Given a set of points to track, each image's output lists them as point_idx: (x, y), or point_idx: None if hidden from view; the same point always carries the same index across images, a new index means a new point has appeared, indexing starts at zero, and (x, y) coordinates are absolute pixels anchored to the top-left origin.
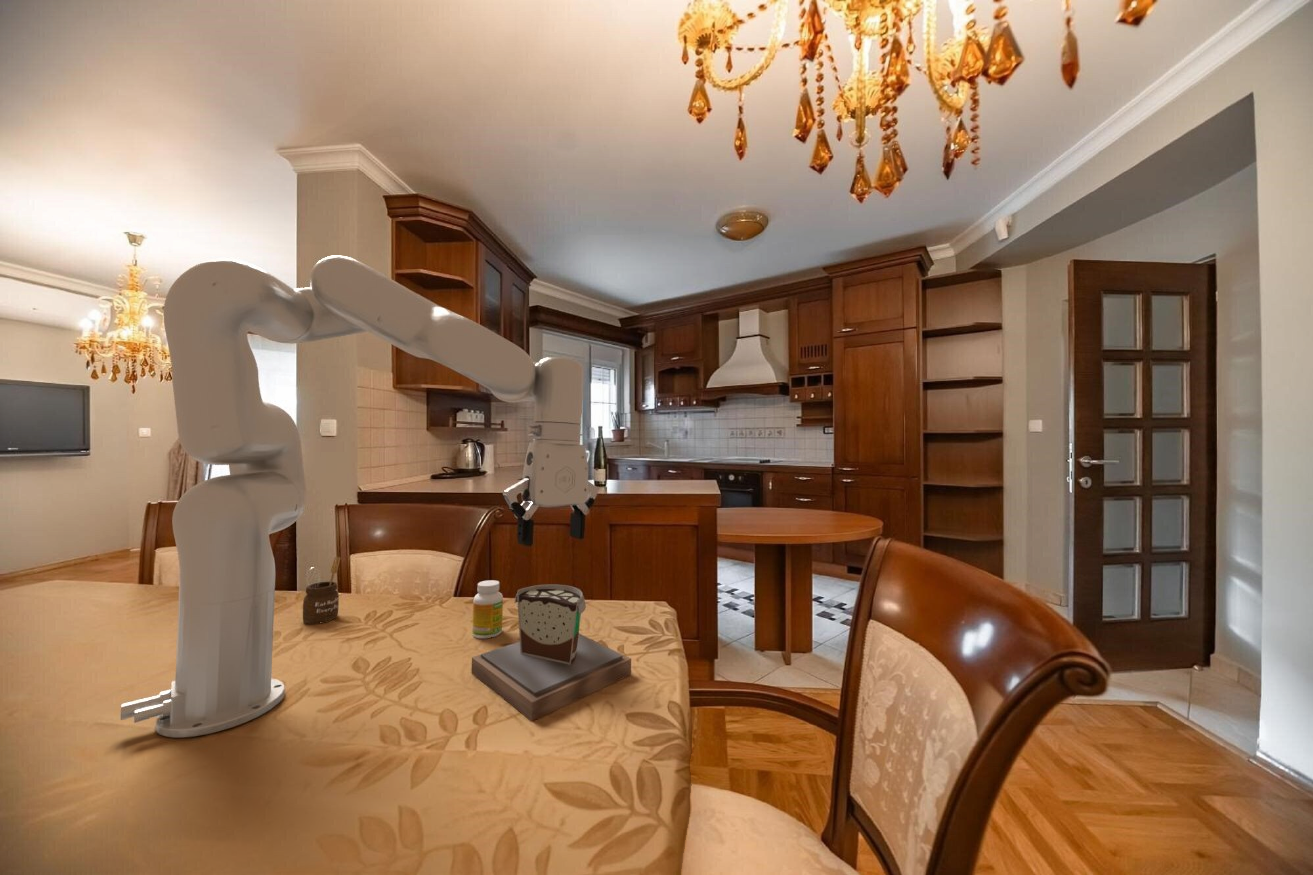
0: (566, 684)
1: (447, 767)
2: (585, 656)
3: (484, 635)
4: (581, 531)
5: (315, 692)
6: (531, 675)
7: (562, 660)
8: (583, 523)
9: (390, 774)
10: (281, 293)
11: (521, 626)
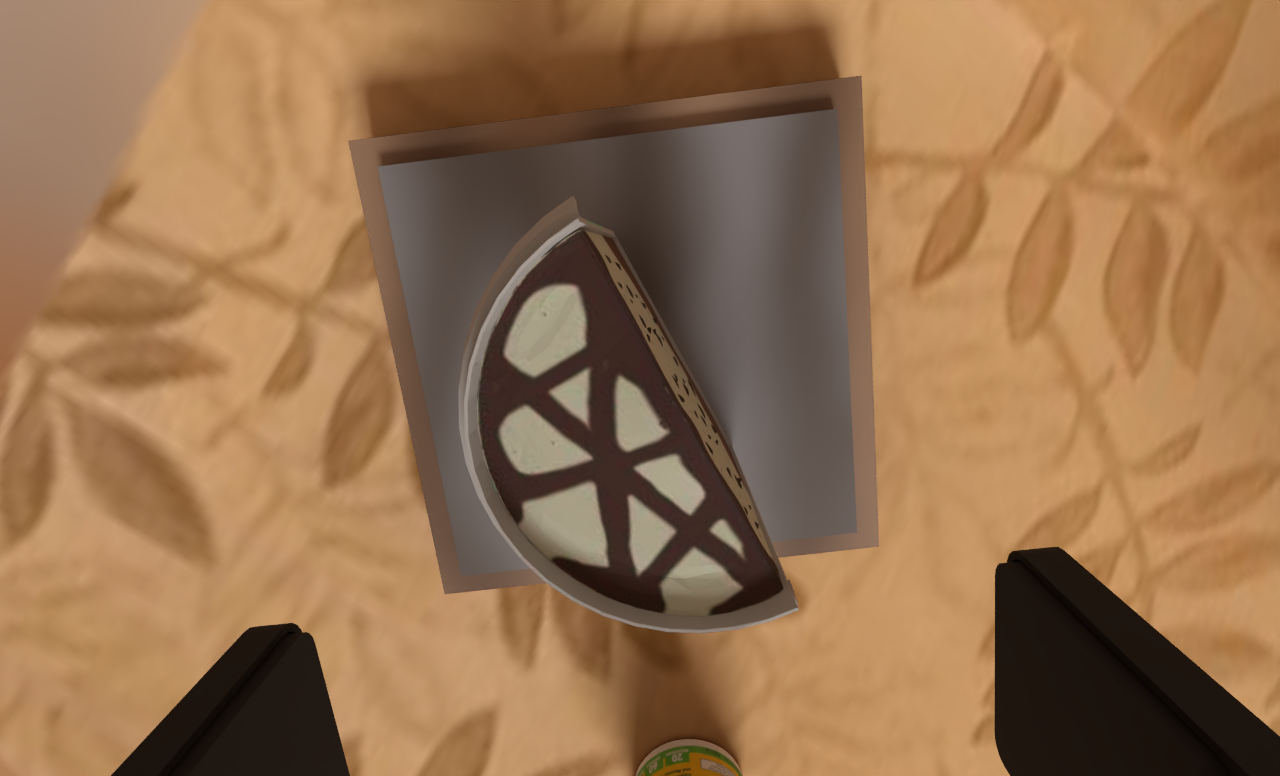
0: (693, 115)
1: (1145, 18)
2: None
3: (718, 751)
4: (244, 685)
5: (1262, 669)
6: (782, 247)
7: (631, 271)
8: (146, 761)
9: (1269, 94)
10: None
11: (747, 493)
